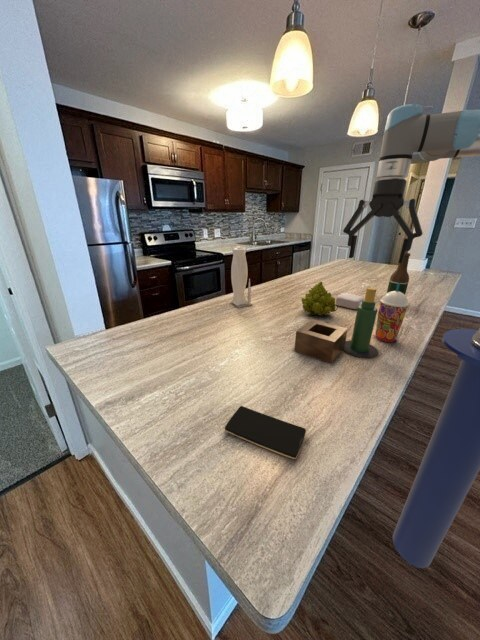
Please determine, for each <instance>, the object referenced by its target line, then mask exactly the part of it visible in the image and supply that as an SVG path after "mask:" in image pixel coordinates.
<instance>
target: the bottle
mask: <svg viewBox="0 0 480 640" xmlns="http://www.w3.org/2000/svg"><path fill="white" fill-rule="evenodd" d="M376 294H377V287H371V286H370V287H369V286H368V287H366V290H365V295H364V300H363V301H362V305H359V306H358V309H356V314H355V320H354V325H353V330H352V334H351V340H350V341H351V345H350V348H351V349H352V350H354V351H357V352H367V351H368V349H369V344H370V345H371V339H372V336H373V332H374V331H373V330H374V327H375V322H376V317H377V315H378V308H377V306H376V301H375V298H376Z"/></svg>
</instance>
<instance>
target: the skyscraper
mask: <svg viewBox="0 0 480 640" xmlns="http://www.w3.org/2000/svg"><path fill="white" fill-rule="evenodd" d="M233 246H235V247H234V248H233ZM230 247H231V250H232V251H231V252H232V261H231V268H230V269H231V270H230V279H231V287H232V292H233V295H232V299H231V304H232V305H234V307H237V308H238V309H239V308H243V307H250V306H252V305H253V304H252V287H251V278H248V277H249V276H248V274H249V273H248V271H249V270H248V262H247V256H246V253H247V249H248V248H247V246H244V245H243V246H242V245H241V244H239V243H231V244H230ZM247 282H248V287H247ZM246 287H247V300H246V296H245V292H246Z"/></svg>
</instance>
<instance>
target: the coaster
mask: <svg viewBox="0 0 480 640" xmlns="http://www.w3.org/2000/svg"><path fill="white" fill-rule="evenodd" d="M350 345H351V340H346V342H345V347H344V348H343V350H342V351H343V352H344V353H345V354H348V355H350V356H353V357H355V358H360V359H374V358H375V357H377V356H378V354H379V351H378V349H377V348H376V347H375V346H374V345H372V344H371V343H370V344H369V349H368V351H367V352H357V351H354V350H352V349H351V348H350Z"/></svg>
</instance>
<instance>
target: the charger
mask: <svg viewBox="0 0 480 640" xmlns="http://www.w3.org/2000/svg"><path fill="white" fill-rule="evenodd" d="M363 300H365V296H362V295H357V294H353V293H348V292H342V293H340V294H339V295H337V296H336V297H335V302H336V303H335V305H336V306H338V307H341V308H347V309H351V310H355V311H356V310H357V309H358V306H359V305H362V301H363Z"/></svg>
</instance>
